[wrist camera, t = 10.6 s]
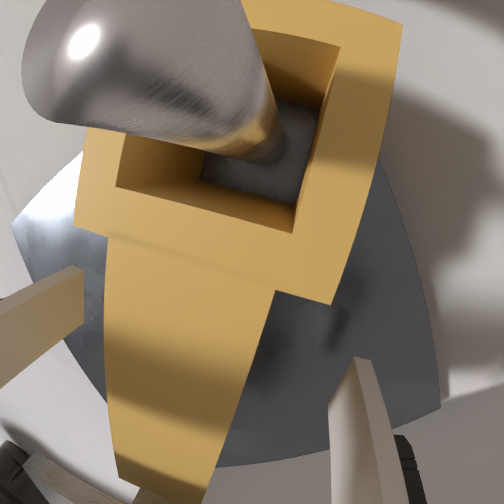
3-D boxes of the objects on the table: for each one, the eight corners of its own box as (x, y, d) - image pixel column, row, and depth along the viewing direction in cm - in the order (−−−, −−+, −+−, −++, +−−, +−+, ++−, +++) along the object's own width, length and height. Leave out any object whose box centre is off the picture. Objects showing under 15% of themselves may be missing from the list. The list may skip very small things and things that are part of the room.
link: (203, 59, 10) (136, -10, 5) (355, 91, 10) (402, 24, 4) (144, 397, 15) (97, 466, 10) (245, 432, 15) (223, 515, 9)
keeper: (127, 349, 16) (21, 466, 6) (289, 404, 15) (269, 569, 5) (128, 426, 18) (65, 521, 8) (254, 469, 17) (227, 584, 8)
